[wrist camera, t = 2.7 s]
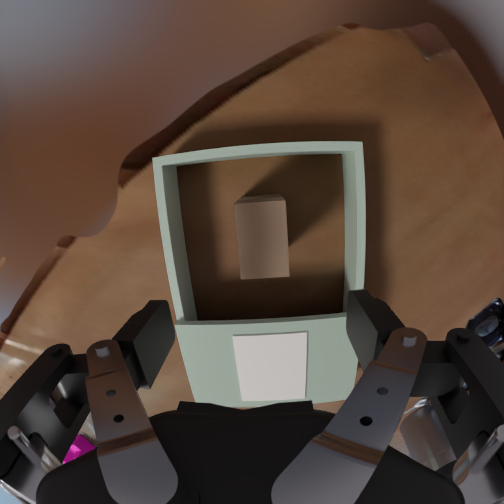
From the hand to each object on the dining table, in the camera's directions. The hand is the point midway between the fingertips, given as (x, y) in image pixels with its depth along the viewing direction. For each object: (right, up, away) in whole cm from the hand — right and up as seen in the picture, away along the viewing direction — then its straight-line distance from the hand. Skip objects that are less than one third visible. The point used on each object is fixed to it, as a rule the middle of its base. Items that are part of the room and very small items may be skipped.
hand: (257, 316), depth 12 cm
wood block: (+1, +6, +22) cm, 23 cm away
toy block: (-51, -53, +42) cm, 85 cm away
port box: (+2, -2, +24) cm, 24 cm away
